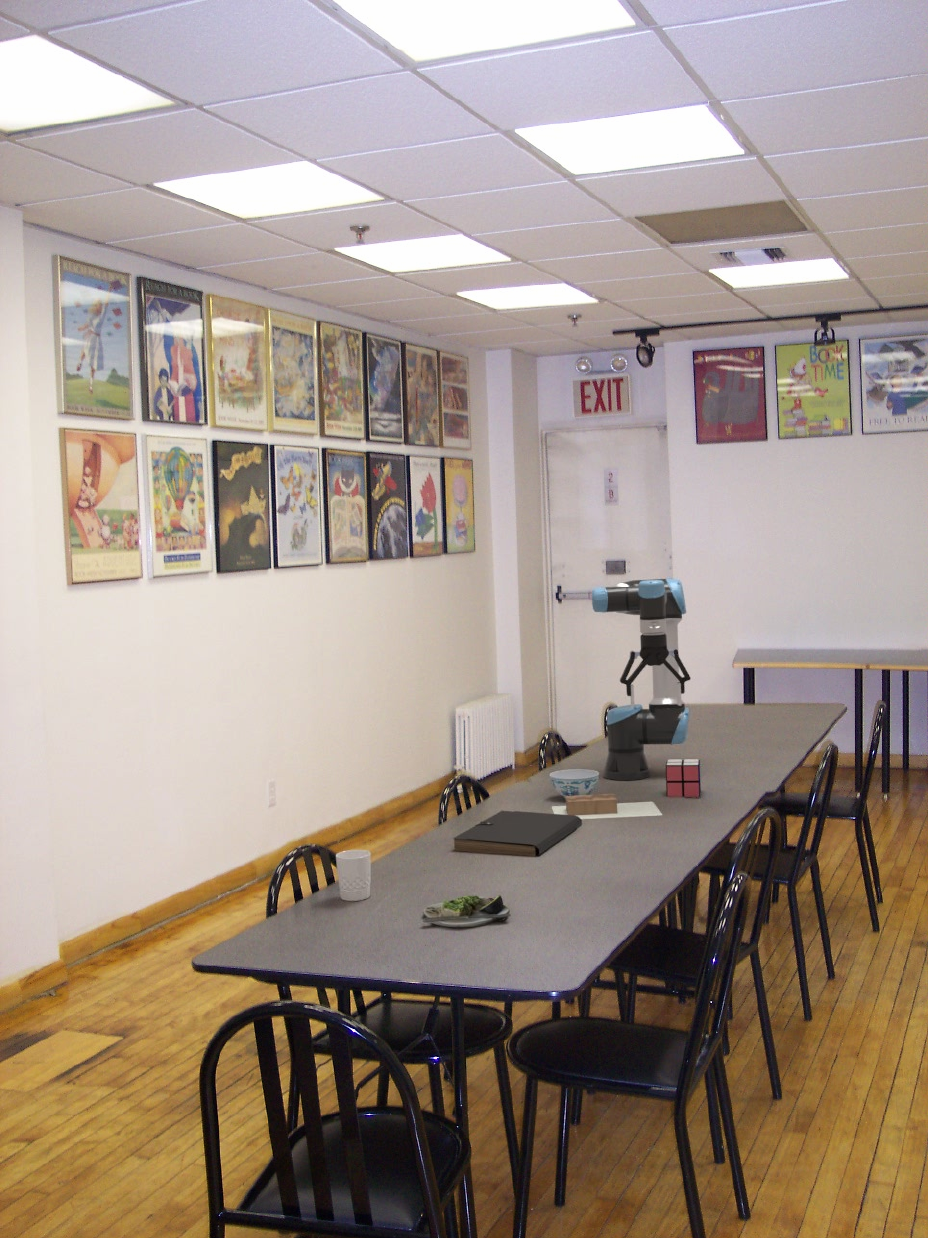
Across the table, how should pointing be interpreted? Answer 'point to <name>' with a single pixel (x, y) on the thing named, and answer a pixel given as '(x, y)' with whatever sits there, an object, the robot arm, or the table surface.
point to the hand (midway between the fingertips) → (656, 706)
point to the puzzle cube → (683, 778)
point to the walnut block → (591, 804)
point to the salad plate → (467, 912)
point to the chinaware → (574, 781)
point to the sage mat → (619, 811)
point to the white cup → (354, 874)
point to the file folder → (517, 833)
